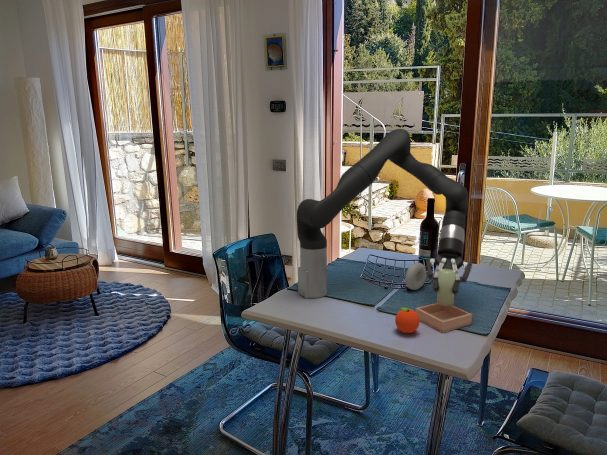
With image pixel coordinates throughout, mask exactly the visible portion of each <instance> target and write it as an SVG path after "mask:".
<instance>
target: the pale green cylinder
mask: <svg viewBox="0 0 607 455" xmlns="http://www.w3.org/2000/svg"><path fill="white" fill-rule="evenodd" d="M455 273H456V272H455V271H454V270H452V269H440V270H439V273H438V291H437V292H436V303H438V304H439V305H443V306H451V305H453V306H454V302H455V301H454V299H455V294H453V291H454V282H455Z"/></svg>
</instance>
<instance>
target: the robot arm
mask: <svg viewBox="0 0 607 455" xmlns="http://www.w3.org/2000/svg"><path fill="white" fill-rule="evenodd" d="M411 141H412V140H411V135H410V133H409V131H408V130H406V129H404V128H397V129H393V130H391V131H389V132H388V133H387V134H386V135H384V136H383V138H382V139H381V140H380V141H379V142H378V143H377V144H376V145H375V146H374V147H373V148H372V149H371V150H369V151H368V152H367V153H366V154H365V155H364V156H362V158H360V159H359V160H358V161H357V162H356V163H354V164H353V165H352V166H350V167H349V168H348V169H347V170H345V171H344V173H342V175H341V176H340V177H339V180H338V183H337V184H336V187H335V188H334V190H333V191H332V192H331V193H330V194H328V195H327V196H325V198H323V199H322V200H321V199H320V200H317V199H312V198H306V199H304V200H302V201H301V202H300V203H299V204H298V206H297V209H296V231H297V239H298V242H299V266H298V267H297V293H298V294H299V295H301V296H302V297H304V298H305V299H318V298H324V297H325V296H326V295H327V291H328V290H327V289H328V287H327V284H328V283H327V282H328V281H327V280H328V277H327V274H328V270H327V269H328V268H327V267H328V266H327V265H328V262H327V261H328V258H327V257H328V253H327V252H328V242H327V241H328V240H327V237H326V236H325V235H324V233H323V232H322V229H324V228H325V227H327V226H328V225H329V224H330V223H331V222H332V221H333V220H334V219H335V218H336V217H337V216H338V215H339V214H340V213H341V211H343V210H344V208H346V206H347V205H349V204H350V203H351V202H352V201H353V200H354V199H355V198H357V197H358V196H359V195H360V194H362V193H363V192H364V191H365V190H366V189H367V188H369V187H370V186H371V185H372V184H373V183H374V182H375V180H376V179H377V178H378V176H379V174H380V173H381V170H383V167H384V166H385V164H386V163H387V162H388V161H390V162H391V163H392V164H394V165H395V166H397V167H400V168H401V169H402V170H403V171H405V172H407V173H409V174H410V175H411V176H413V177H414V178H416V179H417V180H418V181H420V182H421V184H423V185H424V186H425V187H426V188H427V189H428V190H429V191H430V192H432V193H433V194H435V195H438V196H441V195H442V196H444V199H445V212H444V215H443V217H442V223H441V229H440V233H439V237H438V245H437V246H438V247H437V252H436V256H435V257H434V258H429V257H427V258H425V262H426V264H425V265H426V272H427V276H428V279H431V280H433V281H432V290H433V291H434V293H437V291H438V273H439V270H440V269H452V270H454V271H455V272H456V273H455V282H454V291H453V294H454V296H455V295H457V294H458V293H459V290H460V284H461V283H467V281H468V278H469V276H470V273H471V271H472V269H473V262H472V261H468V262H466V261H464V258H463V256H464V255H463V254H464V247H465V238H466V237H465V236H466V235H465V234H466V233H465V229H466V217H467V213H468V206H469V192H468V190H467V188H466V187H465V186H464V185H463V184H462V183H460V182H459V181H458V180H456V179H453V178H450V177H448V176H447V175H446V174H445V173H443V172H442V171H441V170H440V169H439V168H437V166H435V165H432V164H430V163H426V162H421V161H419V160H418V159H416V157H414V155H413V154H412V153H411V146H412V145H411V144H412V143H411ZM434 264H435V265H436V266H437V268H436V271H435V272H434V273H433V270H432V267H433V266H434ZM461 267H463V270H464V272H463V274H462V276H460V275H459V269H461Z"/></svg>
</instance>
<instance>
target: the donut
mask: <svg viewBox="0 0 607 455" xmlns="http://www.w3.org/2000/svg"><path fill="white" fill-rule="evenodd" d="M427 276H428V273H427V267H426V266H425V265H424V264H423V263H421V262H414V263H413V264H411V265H410V266H408V268H407V271H406V273H405V277H404V278H405V279H404V280H405V285H406V286H407V287H408V289H410V290H411V291H417V290H419V289H420V288H421V287H423V285H424V284H425V281H426V278H427Z"/></svg>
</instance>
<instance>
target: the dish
mask: <svg viewBox="0 0 607 455" xmlns="http://www.w3.org/2000/svg"><path fill="white" fill-rule="evenodd" d="M414 311H415V312H416V313H417V314H418V316H419V319H420V323H423V324H425V325H427V326H429V327H430V328H432V329H434V330H436V331H437V332H440V333H441V334H444V333H446V332H447V333H448V332H451V331H454V330H457V329H461V328H465V327H468V326H471V325H472V322H473V314H472V313H470V312H468V311H466V310H463V309H462V308H460V307H457V306H455V305H454V304H453V305H451V306H443V305H439V304H438V303H437V302H436V303H432V304H428V305H424V306H423V305H422V306H419V307H415V310H414Z"/></svg>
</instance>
